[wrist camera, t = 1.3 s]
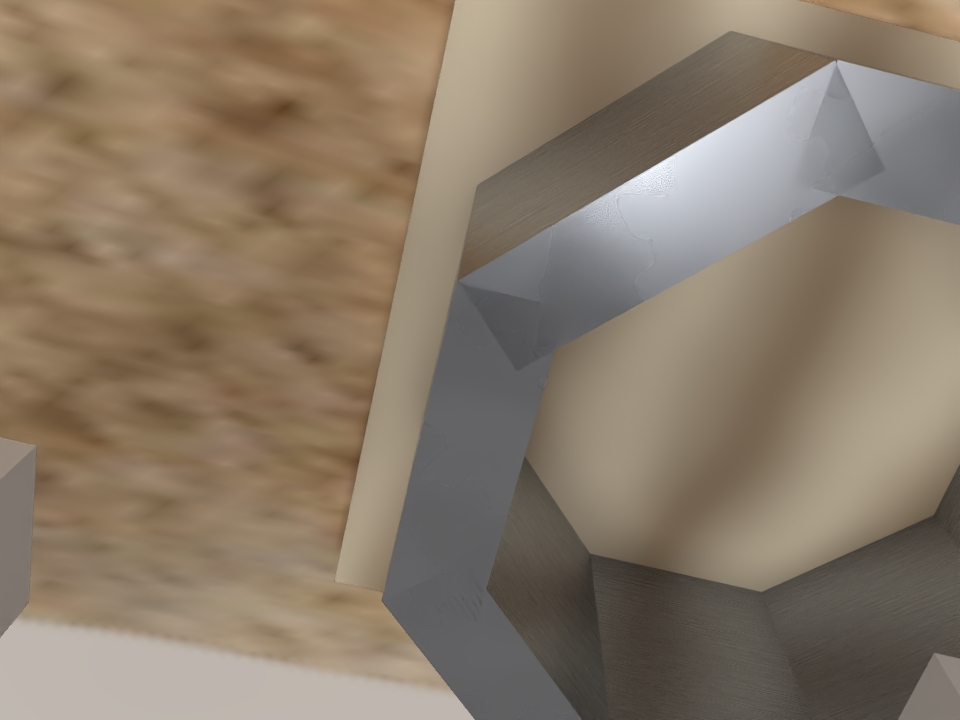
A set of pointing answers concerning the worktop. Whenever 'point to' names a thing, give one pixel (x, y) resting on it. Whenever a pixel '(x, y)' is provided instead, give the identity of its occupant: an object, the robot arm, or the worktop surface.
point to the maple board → (689, 320)
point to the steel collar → (596, 300)
